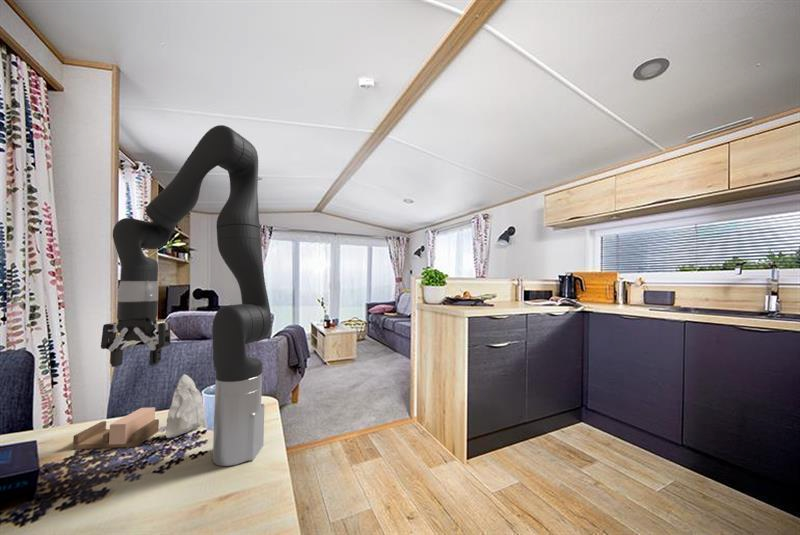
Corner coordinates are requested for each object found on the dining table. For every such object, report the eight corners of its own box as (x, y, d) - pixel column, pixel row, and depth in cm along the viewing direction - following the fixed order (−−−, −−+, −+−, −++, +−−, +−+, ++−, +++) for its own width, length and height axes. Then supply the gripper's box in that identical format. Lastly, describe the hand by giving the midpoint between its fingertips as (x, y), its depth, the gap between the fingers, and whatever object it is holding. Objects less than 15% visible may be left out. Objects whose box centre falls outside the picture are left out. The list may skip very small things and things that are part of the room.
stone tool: (168, 444, 69) (171, 379, 70) (162, 440, 70) (165, 377, 71) (206, 428, 76) (208, 370, 77) (200, 425, 78) (202, 368, 79)
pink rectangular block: (154, 425, 76) (155, 407, 76) (124, 444, 67) (125, 423, 67) (140, 425, 76) (141, 407, 76) (108, 444, 67) (110, 424, 67)
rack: (158, 431, 75) (158, 419, 75) (136, 446, 68) (136, 433, 68) (101, 433, 73) (102, 421, 74) (72, 449, 66) (73, 435, 67)
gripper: (178, 298, 77) (176, 360, 76) (120, 299, 76) (117, 362, 75) (158, 300, 70) (155, 368, 69) (93, 300, 68) (89, 370, 67)
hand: (135, 365), depth 72 cm, fingers open, 8 cm apart
